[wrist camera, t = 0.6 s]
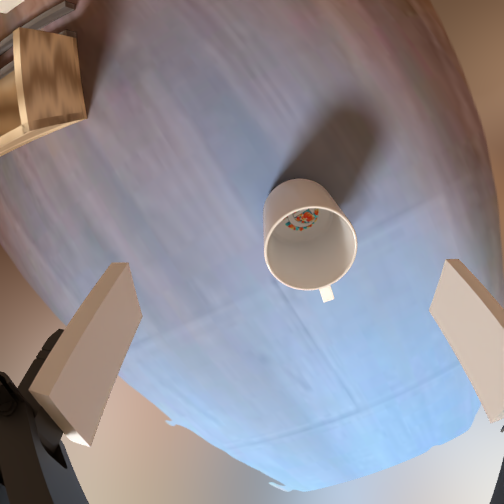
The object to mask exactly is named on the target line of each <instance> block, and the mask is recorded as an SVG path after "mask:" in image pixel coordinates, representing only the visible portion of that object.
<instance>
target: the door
mask: <svg viewBox="0 0 504 504" xmlns="http://www.w3.org/2000/svg"><path fill="white" fill-rule="evenodd" d="M23 1H24V0H0V12H1V13H7V12H9V11H10V10H12V9H13V8H14V7H16V6H17V5H19V4H20V3H21V2H23Z"/></svg>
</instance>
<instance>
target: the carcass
mask: <svg viewBox="0 0 504 504" xmlns="http://www.w3.org/2000/svg"><path fill="white" fill-rule="evenodd" d="M74 10H75V4H73V3H70V2H67V1H64V2H62V3H60V4H58V5H56V6H55V7H53V8H51V9H49V10H48V11H46V12H44V13H42V14H41V15H39V16H38V17H36V18H34V19H33V20H31V21H30V22H28V23H26V24H25V25H23V26H22V27H19V28H18V29H16V30H15V31H13V33H12V34H10V35H9V36H8V37H6V38H5V39H3V40H2V41H1V42H0V55H1V54H3V53H4V52H5V51H7V50H8V49H10V48H11V47H12V46H13V51H14V60H13V61H12V62H10V63H9V64H7V65H6V66H4V67H3V68H2V69H0V157H1V156H2V155H4V154H6V153H8V152H10V151H12V150H14V149H16V148H18V147H20V146H22V145H25V144H27V143H29V142H31V141H33V140H35V139H38V138H40V137H42V136H44V135H47V134H49V133H51V132H54V131H56V130H59V129H61V128H64V127H66V126H69V125H71V124H74V123H76V122H79V121H82V120H85V119H87V115H86V109H85V103H84V97H83V90H82V83H81V76H80V68H79V59H78V49H77V37H76V32H74V31H70V30H64V31H62V32H60V33H58V34H55V33H51V32H45V31H40V30H39V29H41V28H42V27H44V26H46V25H47V24H49V23H51V22H53V21H55V20H56V19H58V18H60V17H62V16H64V15H66V14H68V13H70V12H72V11H74Z"/></svg>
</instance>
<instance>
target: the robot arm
mask: <svg viewBox="0 0 504 504" xmlns="http://www.w3.org/2000/svg"><path fill="white" fill-rule="evenodd" d="M429 312H430V313H431V315H432V316H433V318H434V319H435V321H436V323H437V324H438V326H439V327H440V329H441V331H442V332H443V334H444V336H445V337H446V339H447V341H448V342H449V344H450V346H451V348H452V349H453V351H454V353H455V355H456V356H457V358H458V360H459V362H460V363H461V365H462V367H463V369H464V371H465V373H466V374H467V376H468V378H469V380H470V382H471V384H472V386H473V388H474V390H475V392H476V394H477V396H478V398H479V400H480V402H481V404H482V406H483V408H484V410H485V412H486V414H487V416H488V418H489V421H490V423H493V422H496V421H498V420H500V419H502V418H504V309H503V308H502V307H501V306H500V304H499V303H498V302H497V301H496V300H495V299H494V297H493V296H492V295H491V294H490V293H489V292H488V290H487V289H486V288H485V287H484V286H483V285H482V284H481V283H480V282H479V280H478V279H477V278H476V277H475V276H474V275H473V274H472V273H471V272H470V271H469V270H468V269H467V268H466V266H465V265H464V264H463V263H462V262H461V261H460V260H459V259H446V260H445V263H444V266H443V270H442V273H441V276H440V280H439V283H438V286H437V289H436V292H435V295H434V298H433V301H432V303H431V306H430V309H429ZM141 319H142V313H141V309H140V306H139V302H138V299H137V295H136V291H135V287H134V283H133V279H132V275H131V271H130V267H129V263H111V265H110V266H109V267H108V269H107V270H106V271H105V273H104V274H103V275H102V277H101V278H100V279H99V281H98V282H97V283H96V285H95V286H94V288H93V289H92V290H91V292H90V293H89V295H88V296H87V297H86V299H85V300H84V302H83V303H82V305H81V306H80V308H79V309H78V310H77V312H76V313H75V315H74V316H73V318H72V319H71V321H70V322H69V324H68V325H67V327H66V328H65V330H62V329H58V330H57V331H56V332H55V333H54V334H52V335H51V336H50V337H49V338H48V339H47V341H46V342H45V344H44V346H43V347H42V351H40V352H39V353H38V355H37V356H36V359H35V360H34V361H33V363H32V364H31V366H30V368H29V369H28V371H27V373H26V374H25V376H24V378H23V380H22V381H21V383H20V385H19V386H18V388H17V387H16V386H15V385H14V383H13V382H12V381H11V379H10V378H9V377H8V375H6V374H5V373H4V372H0V504H89V503H88V501H87V499H86V497H85V495H84V492H83V490H82V488H81V486H80V484H79V481H78V479H77V477H76V475H75V472H74V470H73V467H72V465H71V462H70V460H69V457H68V455H67V452H66V449H65V446H64V444H63V443H62V441H61V440H60V439H61V437H62V434H63V433H64V434H65V435H66V436H67V437H68V438H69V439H70V440H71V441H72V442H75V443H78V444H82V445H85V446H89V447H91V444H92V442H93V439H94V436H95V433H96V430H97V427H98V425H99V422H100V419H101V416H102V414H103V411H104V408H105V406H106V403H107V400H108V398H109V395H110V393H111V390H112V387H113V385H114V383H115V380H116V378H117V375H118V373H119V370H120V368H121V365H122V363H123V361H124V358H125V356H126V353H127V351H128V349H129V346H130V344H131V342H132V339H133V337H134V335H135V333H136V330H137V328H138V326H139V323H140V321H141ZM503 431H504V426H503V427H502V429H501V432H503ZM490 504H504V458H503V462H502V466H501V470H500V473H499V477H498V480H497V483H496V487H495V490H494V493H493V496H492V499H491V502H490Z"/></svg>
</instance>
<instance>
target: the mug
mask: <svg viewBox="0 0 504 504" xmlns="http://www.w3.org/2000/svg"><path fill="white" fill-rule="evenodd" d="M263 233H264V256H265V261H266V264H267V266H268V268H269V270H270V272H271V273H272V274H273V276H274V277H275V278H276V279H277V280H279V281H280V282H281V283H283V284H285V285H287V286H289V287H291V288H294V289H299V290H316V289H319V290H320V293H321V296H322V298H323V301H324V302H327V301H330V300H333V299H334V296H333V292H332V289H331V286H330V285H331V284H333V283H335V282H336V281H338V280H339V279H340V278H342V277H343V276H344V275H345V274H346V273H347V271H348V270H349V269H350V267H351V266H352V264H353V262H354V259H355V256H356V252H357V237H356V233H355V230H354V228H353V226H352V224H351V223H350V221H349V220H348V218H347V217H346V216H345V214H344V213H343V211H342V210H341V209H340V207H339V206H338V205H337V203H336V202H335V200H334V199H333V198H332V196H331V195H330V194H329V192H328V191H327V190H326V189H325V188H324V187H323V186H321V185H320V184H318V183H316V182H314V181H312V180H308V179H292V180H288V181H285V182H283V183H281V184H280V185H278V186H277V187H276V188H274V189H273V190H272V191H271V193H270V194H269V195H268V197H267V199H266V201H265V204H264V208H263Z"/></svg>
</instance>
